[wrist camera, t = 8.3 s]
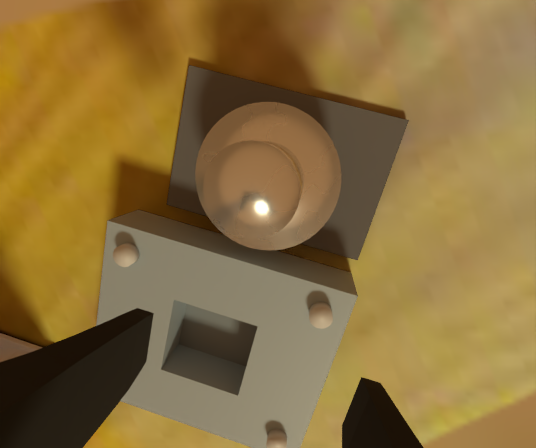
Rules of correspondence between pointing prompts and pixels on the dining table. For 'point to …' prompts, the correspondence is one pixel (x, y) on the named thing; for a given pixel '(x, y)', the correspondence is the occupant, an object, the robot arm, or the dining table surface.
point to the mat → (334, 123)
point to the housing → (225, 327)
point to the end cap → (268, 176)
